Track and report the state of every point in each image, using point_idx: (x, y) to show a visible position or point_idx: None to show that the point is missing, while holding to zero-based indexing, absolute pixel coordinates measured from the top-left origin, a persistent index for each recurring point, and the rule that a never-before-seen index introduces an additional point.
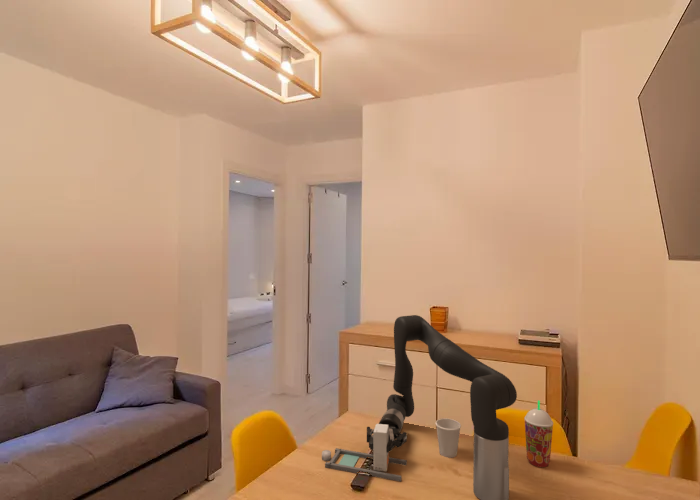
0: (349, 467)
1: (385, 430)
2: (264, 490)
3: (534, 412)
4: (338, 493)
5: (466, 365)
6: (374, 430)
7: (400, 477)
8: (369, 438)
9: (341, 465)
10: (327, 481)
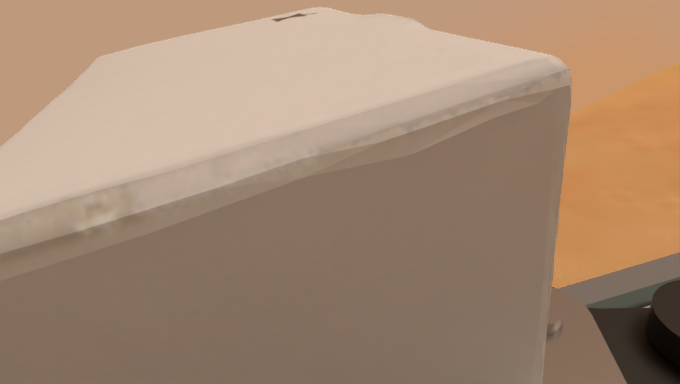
0: (573, 293)
1: (111, 69)
2: (667, 83)
3: None
4: None
5: None
6: (336, 11)
7: None
8: (610, 327)
9: (647, 277)
10: (561, 196)
